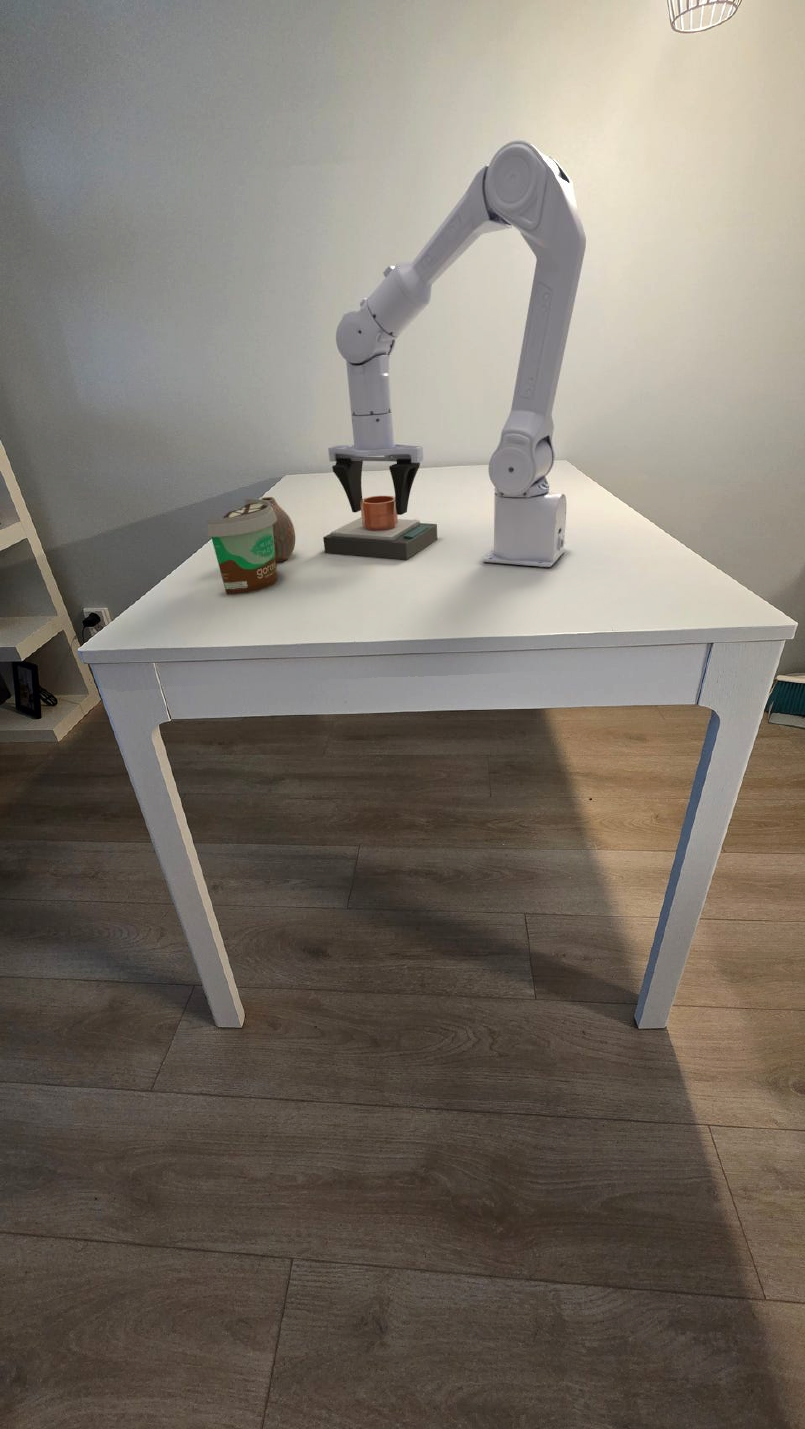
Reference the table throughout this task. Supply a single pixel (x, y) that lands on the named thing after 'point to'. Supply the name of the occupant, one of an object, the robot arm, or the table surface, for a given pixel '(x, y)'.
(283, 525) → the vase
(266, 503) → the food container
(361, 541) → the scale
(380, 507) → the terracotta cup
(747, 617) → the table surface
